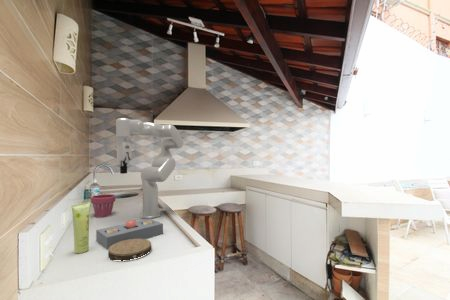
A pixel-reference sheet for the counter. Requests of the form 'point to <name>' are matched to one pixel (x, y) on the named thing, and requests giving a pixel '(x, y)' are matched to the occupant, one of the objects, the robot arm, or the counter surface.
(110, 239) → the knob panel
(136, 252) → the wood log slice
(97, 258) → the counter surface
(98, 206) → the plant pot
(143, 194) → the robot arm
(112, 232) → the knob
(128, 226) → the knob red
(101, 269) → the counter surface
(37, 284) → the counter surface
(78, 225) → the tube
